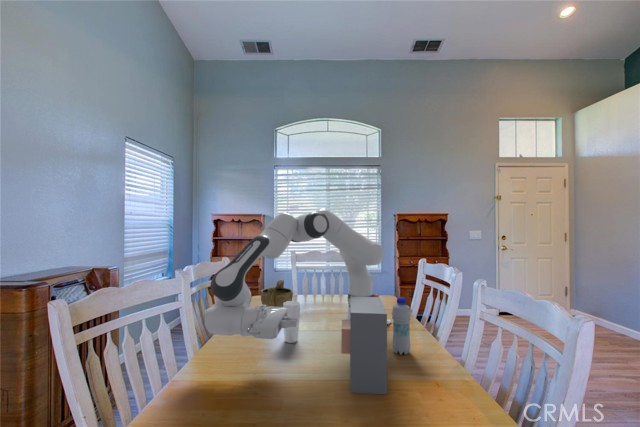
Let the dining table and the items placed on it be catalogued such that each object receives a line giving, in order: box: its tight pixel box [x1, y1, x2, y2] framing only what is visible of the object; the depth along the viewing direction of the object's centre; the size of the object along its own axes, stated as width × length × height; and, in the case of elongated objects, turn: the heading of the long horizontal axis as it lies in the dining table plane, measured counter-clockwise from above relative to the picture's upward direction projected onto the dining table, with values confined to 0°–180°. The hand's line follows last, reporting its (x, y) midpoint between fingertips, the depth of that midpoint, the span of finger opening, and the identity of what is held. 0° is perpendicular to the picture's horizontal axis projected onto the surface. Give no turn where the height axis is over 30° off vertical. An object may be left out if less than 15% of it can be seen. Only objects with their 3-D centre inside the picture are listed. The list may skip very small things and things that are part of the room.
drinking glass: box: [283, 300, 301, 344], centre depth 126 cm, size 7×7×15 cm
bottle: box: [391, 296, 412, 356], centre depth 115 cm, size 7×7×20 cm
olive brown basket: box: [260, 278, 294, 307], centre depth 169 cm, size 22×17×15 cm
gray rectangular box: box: [349, 296, 388, 395], centre depth 97 cm, size 10×20×22 cm, turn 175°
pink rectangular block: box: [340, 319, 351, 355], centre depth 98 cm, size 5×9×7 cm, turn 175°
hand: (297, 322), depth 100 cm, fingers closed
